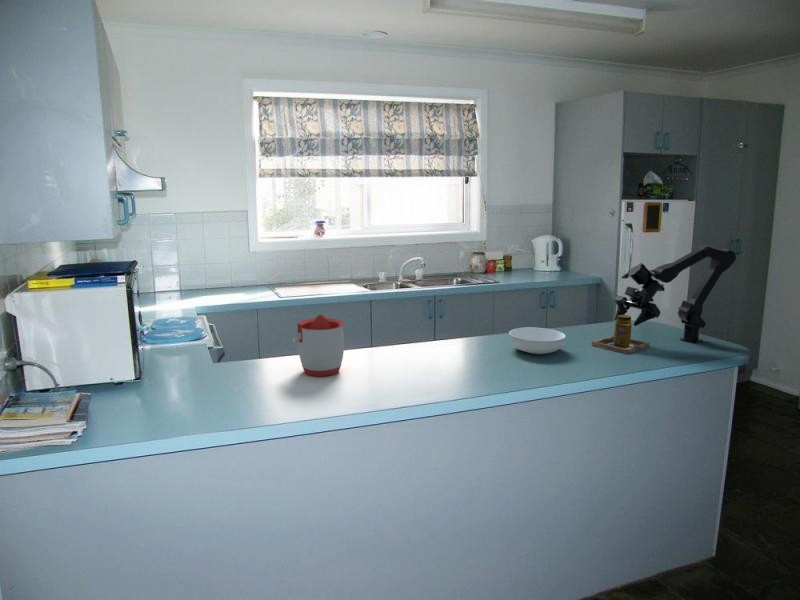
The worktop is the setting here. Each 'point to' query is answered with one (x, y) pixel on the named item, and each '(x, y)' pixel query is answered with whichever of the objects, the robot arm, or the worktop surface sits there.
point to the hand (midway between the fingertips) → (624, 322)
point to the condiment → (622, 332)
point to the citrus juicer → (320, 345)
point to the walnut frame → (600, 344)
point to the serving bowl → (537, 340)
